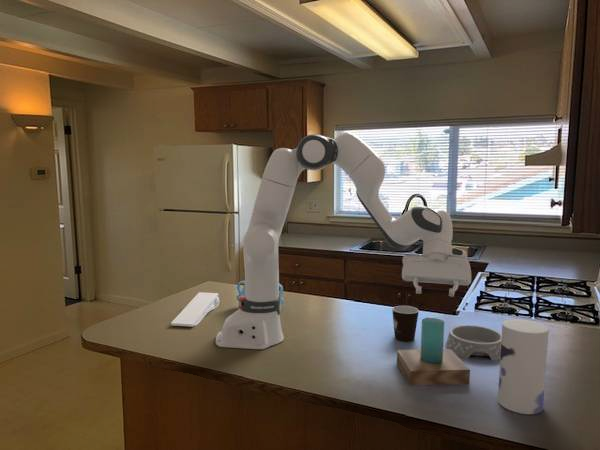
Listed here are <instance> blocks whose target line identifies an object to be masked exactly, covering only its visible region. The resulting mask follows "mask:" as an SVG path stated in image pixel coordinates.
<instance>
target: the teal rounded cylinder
mask: <svg viewBox="0 0 600 450" xmlns="http://www.w3.org/2000/svg"><path fill="white" fill-rule="evenodd" d="M420 332H421V334H420V350H421V356H420V359H421V360H422V361H423V362H426V363H430V364H439V363H442V362H443V349H444V340H445V339H444V338H445V320H442V319H441V318H436V317H425V318H424V317H423V318H422V319H421V331H420Z"/></svg>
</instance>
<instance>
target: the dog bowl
mask: <svg viewBox="0 0 600 450" xmlns="http://www.w3.org/2000/svg"><path fill="white" fill-rule="evenodd" d="M501 337H502V332H499V331H497V330H495V329H493V328H490V327H486V326H482V325H473V324H472V325H471V324H463V325H457V326H453V327H452V328H450V330H449V331H448V336H447V339H446V342H445V344H444V345H445V346H444V347H445V349H451V350H452V351H453V352H454V353H455V354H456V355H457V356H458V357H462V358H466V359H469V358H470V357H471V356H477V357H478V356H479V357H485V356H486V357H489V358H490V360H491V361H498V360H500V354H501Z"/></svg>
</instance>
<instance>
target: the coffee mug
mask: <svg viewBox="0 0 600 450" xmlns="http://www.w3.org/2000/svg"><path fill="white" fill-rule="evenodd" d="M391 311H392V320H393V331H394V332H393V333H394V339H395V340H396V341H399V342H403V343H404V342H405V343H410V342H414V340H415V338H416V337H415V336H416V331H417V323H418V319H419V312H420V310H419V309H418V308H417V307H414V306H411V305H397V306H393V307H392V309H391Z"/></svg>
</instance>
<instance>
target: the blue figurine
mask: <svg viewBox="0 0 600 450" xmlns="http://www.w3.org/2000/svg"><path fill="white" fill-rule="evenodd" d="M241 284H244V285H243V287H242V289H241ZM283 287H284V286H283V285H282V284H281V283H279V297H280V301H281V305H284V303H285V300H284V298H283V297H282V295H283V291H284V288H283ZM236 289H237V293H238V294H237V296H236V301H237V302H239V297H240V296H244V297H245V280H241V281H239V282H238V283H237V284H236Z"/></svg>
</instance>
